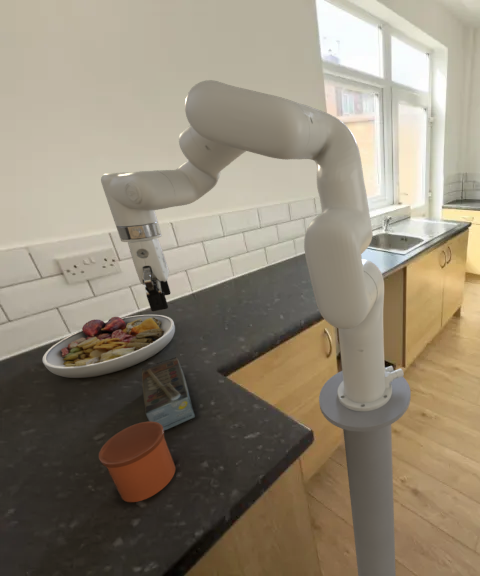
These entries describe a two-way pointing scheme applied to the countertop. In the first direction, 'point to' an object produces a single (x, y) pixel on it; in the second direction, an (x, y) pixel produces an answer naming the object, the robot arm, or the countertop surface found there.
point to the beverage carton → (166, 394)
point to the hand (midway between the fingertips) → (161, 302)
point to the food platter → (109, 346)
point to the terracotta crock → (138, 461)
